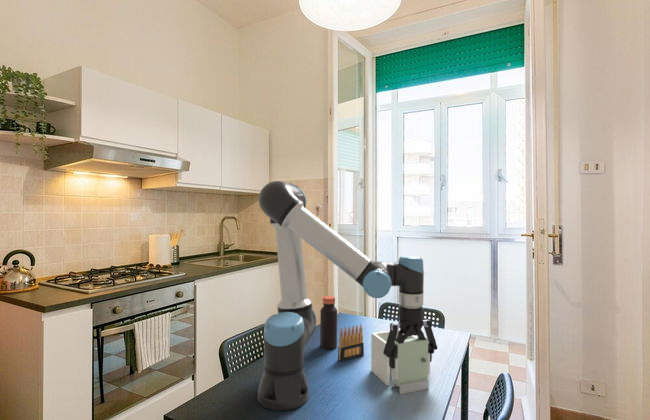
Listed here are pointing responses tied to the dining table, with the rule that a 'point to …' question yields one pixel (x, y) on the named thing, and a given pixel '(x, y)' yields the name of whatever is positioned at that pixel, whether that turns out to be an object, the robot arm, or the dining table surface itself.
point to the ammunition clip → (351, 344)
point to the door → (412, 361)
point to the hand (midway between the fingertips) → (410, 374)
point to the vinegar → (328, 324)
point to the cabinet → (382, 364)
